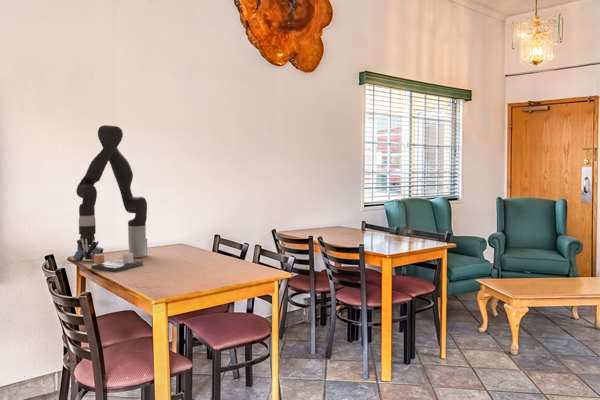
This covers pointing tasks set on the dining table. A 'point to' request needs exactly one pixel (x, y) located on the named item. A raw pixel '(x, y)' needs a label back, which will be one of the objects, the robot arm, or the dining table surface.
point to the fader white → (128, 258)
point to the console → (116, 265)
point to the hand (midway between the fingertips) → (87, 259)
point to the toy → (81, 254)
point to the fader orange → (98, 258)
